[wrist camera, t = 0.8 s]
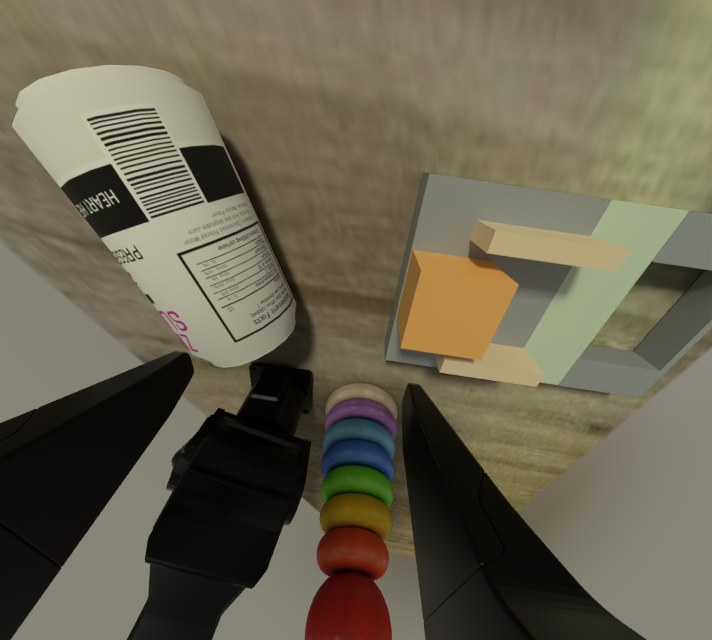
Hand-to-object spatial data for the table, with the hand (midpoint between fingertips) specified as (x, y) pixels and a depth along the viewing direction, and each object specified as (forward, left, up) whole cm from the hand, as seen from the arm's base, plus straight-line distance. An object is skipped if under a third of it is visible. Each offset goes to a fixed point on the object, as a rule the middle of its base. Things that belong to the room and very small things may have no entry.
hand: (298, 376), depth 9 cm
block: (0, -7, -10) cm, 13 cm away
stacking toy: (-16, -4, -13) cm, 21 cm away
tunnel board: (0, -16, -13) cm, 20 cm away
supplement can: (+8, +12, -9) cm, 17 cm away
